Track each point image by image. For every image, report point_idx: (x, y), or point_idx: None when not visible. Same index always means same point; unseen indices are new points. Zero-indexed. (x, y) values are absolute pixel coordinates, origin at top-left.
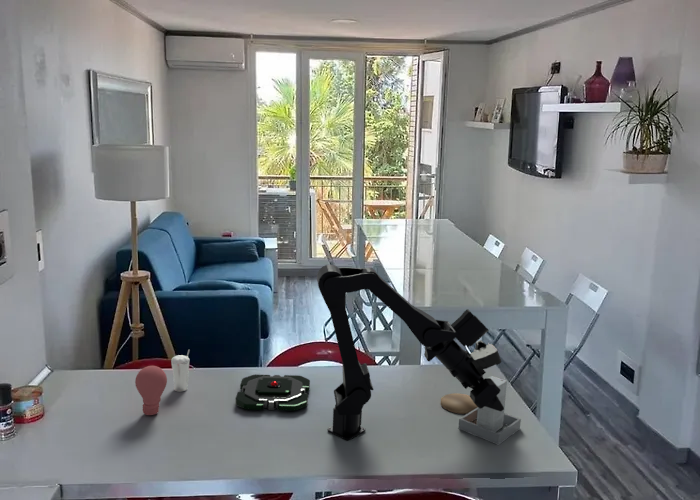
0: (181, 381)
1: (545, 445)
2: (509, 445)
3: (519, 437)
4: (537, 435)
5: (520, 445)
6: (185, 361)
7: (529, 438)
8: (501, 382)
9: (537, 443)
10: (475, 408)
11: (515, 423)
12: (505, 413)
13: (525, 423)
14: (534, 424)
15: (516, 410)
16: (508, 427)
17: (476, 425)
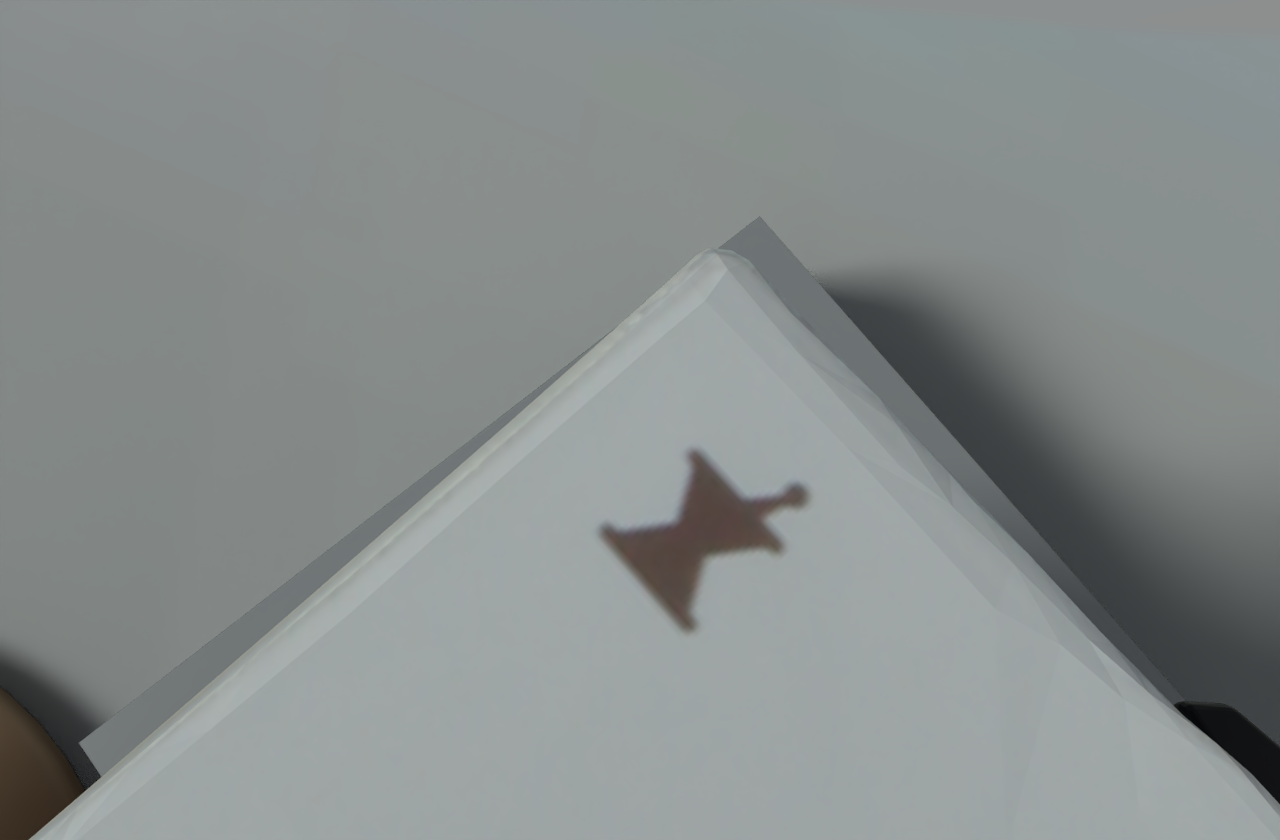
0: None
1: (1238, 120)
2: (1243, 660)
3: (1000, 396)
4: (950, 106)
5: (1242, 483)
6: None
7: (1034, 258)
8: (984, 699)
9: (1181, 206)
10: (26, 808)
11: (896, 375)
12: (517, 408)
13: (581, 124)
14: (625, 9)
15: (157, 84)
16: (1066, 579)
17: None
